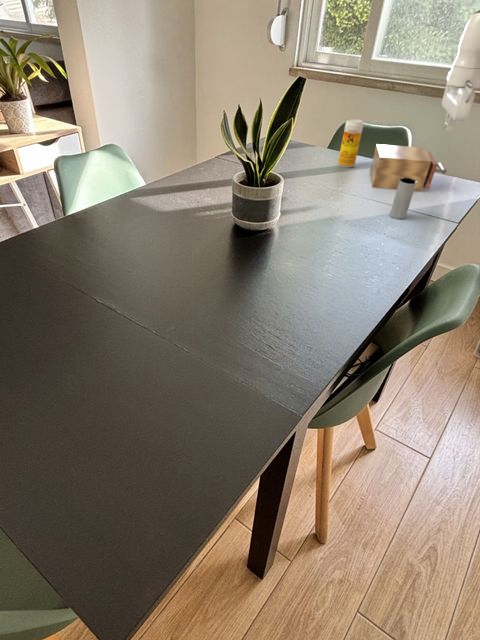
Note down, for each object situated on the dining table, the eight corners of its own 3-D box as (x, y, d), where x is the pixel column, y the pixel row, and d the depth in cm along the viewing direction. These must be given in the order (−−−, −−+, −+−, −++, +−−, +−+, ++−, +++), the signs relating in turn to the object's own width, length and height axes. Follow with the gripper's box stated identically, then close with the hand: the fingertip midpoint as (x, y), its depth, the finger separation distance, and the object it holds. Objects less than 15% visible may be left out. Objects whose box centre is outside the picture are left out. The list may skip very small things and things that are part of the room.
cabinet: (414, 176, 150) (424, 147, 144) (421, 191, 140) (431, 161, 133) (369, 172, 153) (376, 144, 146) (372, 187, 142) (379, 157, 136)
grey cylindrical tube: (391, 211, 127) (401, 176, 121) (407, 215, 126) (418, 179, 119) (387, 217, 124) (398, 181, 118) (403, 220, 123) (415, 184, 116)
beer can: (337, 167, 156) (346, 122, 146) (337, 162, 161) (346, 118, 151) (354, 169, 155) (364, 123, 145) (354, 163, 160) (364, 119, 150)
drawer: (435, 176, 148) (443, 152, 143) (442, 190, 139) (452, 165, 133) (379, 171, 151) (385, 148, 146) (382, 185, 141) (389, 160, 136)
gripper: (486, 85, 116) (465, 140, 125) (468, 73, 131) (451, 122, 140) (461, 84, 117) (442, 138, 126) (447, 72, 132) (431, 121, 141)
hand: (447, 129), depth 133 cm, fingers closed
